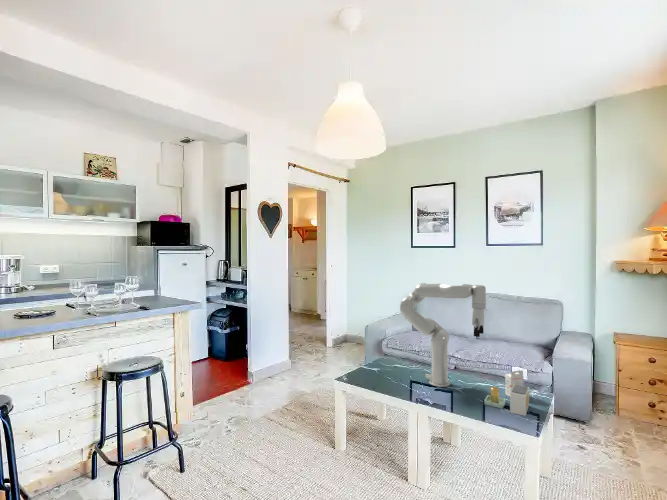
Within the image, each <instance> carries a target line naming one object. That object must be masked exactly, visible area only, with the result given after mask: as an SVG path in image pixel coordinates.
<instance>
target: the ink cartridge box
mask: <svg viewBox="0 0 667 500" xmlns="http://www.w3.org/2000/svg"><path fill="white" fill-rule="evenodd" d="M504 379H505V384H504V385H505V387H504V388H505V391H504V392H505V394H504V395H505V396H507V397H510V392H511V390H512V388H513V386H514V384H516V385H521V386H524V371H523V370H514V371H511V372H510V373H506V374H505V375H504Z"/></svg>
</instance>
